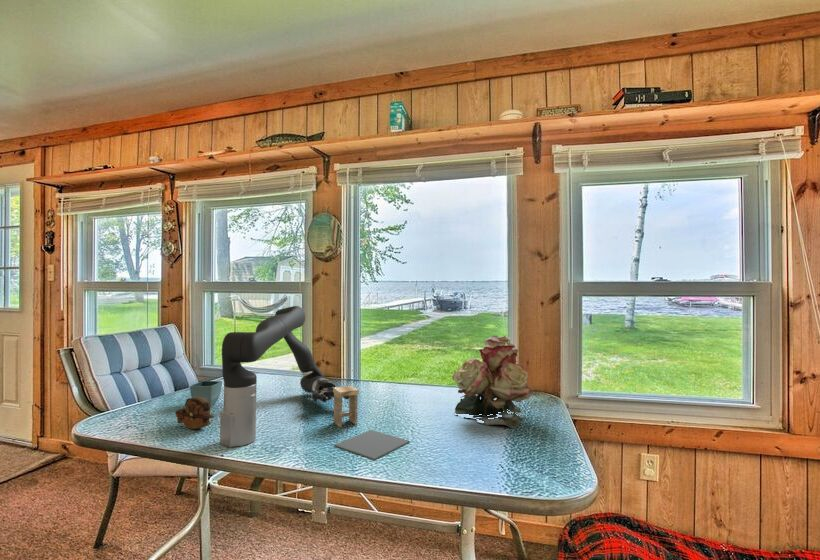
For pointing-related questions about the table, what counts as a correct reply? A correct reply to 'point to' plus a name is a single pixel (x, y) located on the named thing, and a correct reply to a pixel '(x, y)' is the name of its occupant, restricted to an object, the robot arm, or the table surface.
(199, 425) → the wooden carving
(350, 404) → the pine stool
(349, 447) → the charcoal mat
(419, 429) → the table surface
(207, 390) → the flower pot
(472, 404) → the rose bouquet
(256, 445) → the table surface
